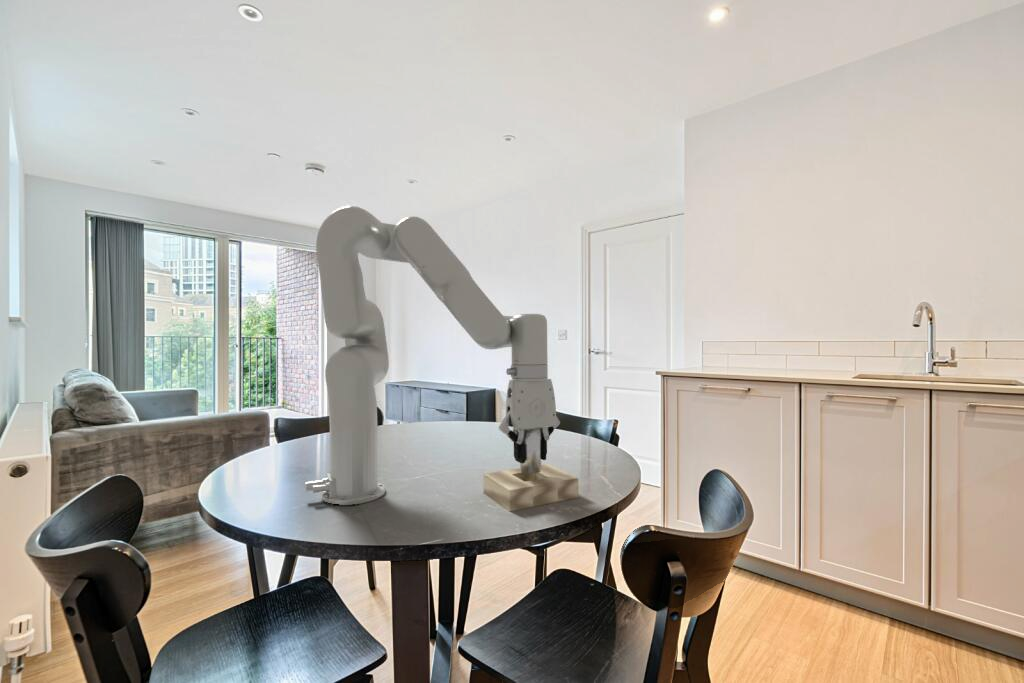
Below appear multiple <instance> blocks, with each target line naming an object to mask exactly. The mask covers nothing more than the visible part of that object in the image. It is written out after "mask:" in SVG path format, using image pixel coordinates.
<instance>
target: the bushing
mask: <svg viewBox="0 0 1024 683" xmlns="http://www.w3.org/2000/svg"><path fill="white" fill-rule="evenodd" d="M523 444H525V463H519V464H520V465H519V466H520V467H519V468H520V471H521V472H523V473H529V474H532V473H539V472H541V465H542V459H541V428H537V429H528V430H525V431H524V436H523Z"/></svg>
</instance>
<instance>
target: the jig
mask: <svg viewBox="0 0 1024 683" xmlns="http://www.w3.org/2000/svg"><path fill="white" fill-rule="evenodd" d="M482 476H483V494H485V495H486V496H488V497H489V498H490V499H492V500H493V502H496V503H497V504H499V506H501V507H503V508H504V509H506V510H507V511H508V512H513V511H519V510H523V509H528V508H533V507H537V506H543V505H549V504H553V503H558V502H561V501H563V502H564V501H568V500H573V499H577V498H579V477H577V476H575V475H573V474H570V473H569V472H566V471H564V470H562V469H559V468H557V467H555V466H553V465H550V464H548V463H546V464H541V472H539V473H532V474H529V473H523V472H521V471H520V467H518V468H514V469H512V468H511V469H505V470H501V471H493V472H487V473H483V475H482Z"/></svg>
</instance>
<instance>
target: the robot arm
mask: <svg viewBox="0 0 1024 683" xmlns="http://www.w3.org/2000/svg"><path fill="white" fill-rule="evenodd" d="M315 242H316V245H315V247H316V248H315V251H316V252H315V253H316V260H317V266H318V273H319V279H320V280H319V282H320V292H321V297H322V306H323V308H322V309H323V314H324V322H325V323H324V324H325V326H326V330H328V332H329V333H330V334H331V335H332V336H334V337H336V338H338V339H341V340H342V339H343V340H344V346H342V347H340V348H338V349H336V350H335V351H334V352H333V353H332V354H331V355H330V356H329V358H328V359H327V362H326V364H325V370H324V371H325V372H324V373H325V375H324V377H325V385H326V390H327V397H328V412H329V416H328V418H329V419H328V421H329V422H328V423H329V473H326V477H322V478H321V479H320V480H309V481H305V484H304V485H305V486H304V488H305V492H312V493H313V494H314V493H320V492H321V500H322V499H323V500H324V501H325V502H324V501H323V500H322V501H323V502H324V503H326V502H328V503H332V504H331V505H333V504H339V505H338V506H353V504H354V505H360V504H365V503H369V502H373V501H375V500H377V499H380V498H381V497H383V496H384V495H385V493H386V486H385V485H384V484H383V483H382V482H379V481H378V480H379V476H378V470H379V469H378V404H377V403H378V402H377V395H376V389H375V385H378V384H379V383H381V382H382V381H383V380H384V379H385V378H386V376H387V374H388V370H389V366H390V364H389V362H390V359H389V352H388V344H387V343H388V342H387V336H386V329H385V328H386V327H385V323H384V321H385V320H384V318H383V315H382V312H381V309H380V308H379V307H378V306H377V304H375V303H374V302H373V301H371V300H370V299H368V298H367V297H366V293H365V292H366V291H365V284H364V277H363V276H364V274H363V271H362V267H361V264H360V261H359V254H360V255H362V256H365V257H367V258H370V259H373V260H374V259H375V260H384V261H391V262H397V263H398V262H399V263H405V264H406V263H407V264H409V265H410V266H411V267H412V268H413V269H414V270H415V271H416V272H417V274H418V275H419V276H420V277H421V278H422V280H423V281H424V283H425V284H426V285H427V286H428V287H429V288H430V290H431V292H433V293H434V295H435V297H436V298H437V299H438V300H439V302H442V304H443V305H444V306H445V307H446V309H447V310H448V311H449V313H451V315H452V316H453V317H454V319H456V321H457V322H458V323H459V325H460V326H461V327H462V328H463V329H464V330H465V332H466V333H467V334H468V336H470V338H471V339H472V340H473V341H474V342H475V344H477V345H478V346H479V347H480V348H482V349H485V350H490V351H491V350H499V349H504V348H511V365H510V367H509V368H506V375H507V376H510V377H511V379H509V381H508V384H507V390H506V399H505V416H504V417H503V419H502V421H501V423H500V424H499V426H498V431H500V432H502V433H503V434H505V435H506V436H507V437H508V438H509V439H510V440H511V442H513V457H514V460H515V461H516V462H518V463H519V464H520V463H525V444H523V436H524V431H525V430H528V429H537V428H541V461H546V460H547V454H548V441H549V440H550V436H551V435H552V434H553V432H554V431H555V430H556V429H557V428H558V427H559V426H560V424H561V421H560V419H559V417H557V409H556V397H555V389H554V385H553V381H552V378H548V377H549V376H548V375H549V373H548V372H549V370H548V369H549V368H548V319H547V317H546V316H545V315H544V314H541V313H519V314H516V315H514V316H511V315H510V316H509V315H504V314H502V312H500V310H499V309H498V308H497V307H496V306H495V305H494V303H493V302H492V301H491V300H490V299H489V297H488V296H487V295H486V294H485V293H484V291H483V290H482V289H481V287H480V286H479V285H478V284H477V282H476V281H475V280H474V278H473V277H472V275H471V273H470V271H469V270H468V268H467V267H466V265H465V264H463V262H462V261H461V260H460V259H459V258H458V257H457V256H456V254H455V253H454V251H453V250H452V249H451V248H450V247H449V246H448V245H447V243H446V242H445V241H444V240H443V239H442V238H441V237H440V235H439V234H438V232H436V231H435V230H434V228H433V227H432V225H430V224H429V222H427V221H426V220H425V219H423V218H421V217H418V216H414V215H413V216H406V217H404V218H402V219H401V220H400V221H398V222H397V223H396V224H393V223H384V222H382V221H381V220H379V219H378V218H377V217H376V216H375V215H374V214H372V213H370V211H368V210H366V209H365V208H362V207H359V206H357V205H356V206H354V205H346V206H342V207H340V208H337V209H336V210H334V211H332V212H331V213H329V215H328V216H326V218H325V219H324V220H323V222H322V223H321V225H320V227H319V229H318V232H317V237H316V241H315ZM509 427H510V428H512V429H510V428H509ZM328 503H327V504H328Z"/></svg>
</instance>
